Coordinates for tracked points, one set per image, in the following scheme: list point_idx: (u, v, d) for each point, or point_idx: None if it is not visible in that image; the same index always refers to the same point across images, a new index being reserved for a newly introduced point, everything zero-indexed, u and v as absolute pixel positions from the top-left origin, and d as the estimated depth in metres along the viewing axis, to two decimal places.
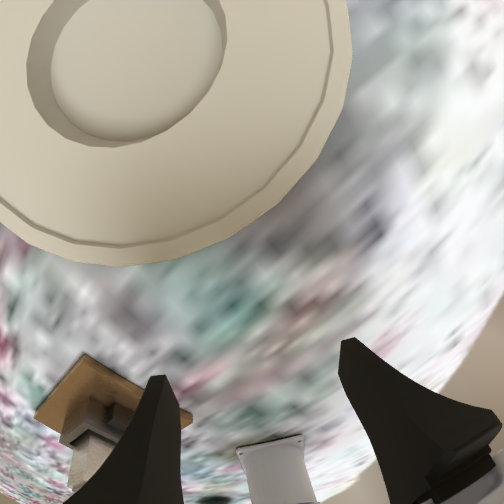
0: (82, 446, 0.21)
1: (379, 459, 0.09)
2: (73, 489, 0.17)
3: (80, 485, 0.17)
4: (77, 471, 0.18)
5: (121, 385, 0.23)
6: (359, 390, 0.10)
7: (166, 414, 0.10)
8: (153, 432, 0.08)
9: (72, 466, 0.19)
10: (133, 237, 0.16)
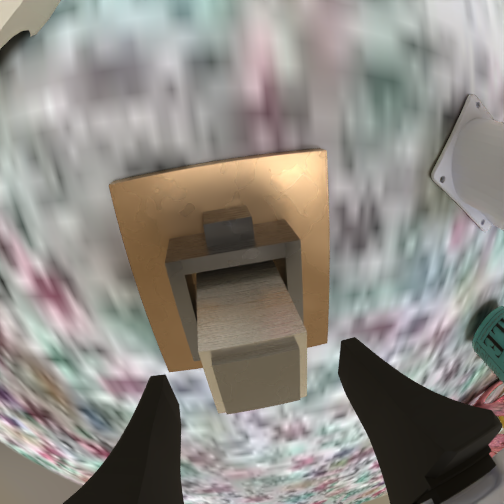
0: None
1: (379, 459, 0.09)
2: None
3: (217, 380, 0.11)
4: None
5: (179, 170, 0.16)
6: (359, 390, 0.10)
7: (166, 414, 0.10)
8: (153, 432, 0.08)
9: None
10: None
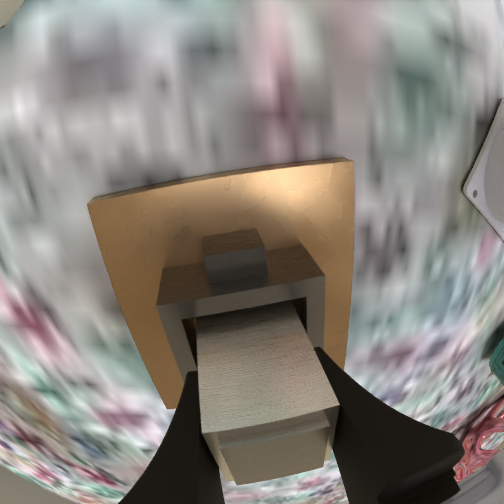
0: None
1: (341, 472, 0.09)
2: None
3: None
4: None
5: (173, 185, 0.13)
6: None
7: None
8: (200, 428, 0.08)
9: None
10: None
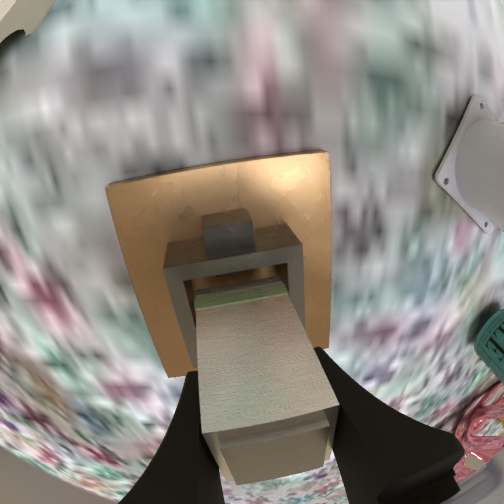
0: None
1: (341, 472, 0.09)
2: None
3: None
4: None
5: (178, 172, 0.15)
6: None
7: None
8: (200, 428, 0.08)
9: None
10: None
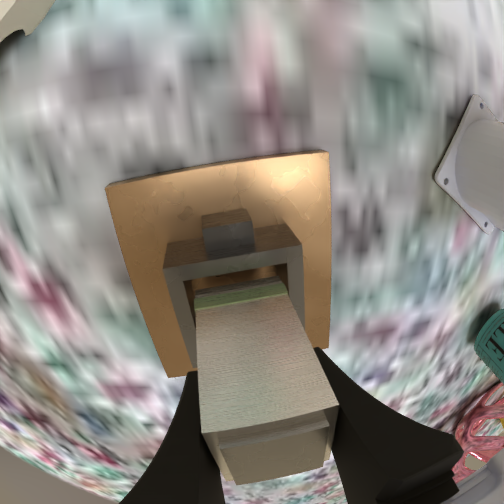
0: None
1: (340, 472, 0.09)
2: None
3: None
4: None
5: (177, 172, 0.15)
6: None
7: None
8: (200, 428, 0.08)
9: None
10: None
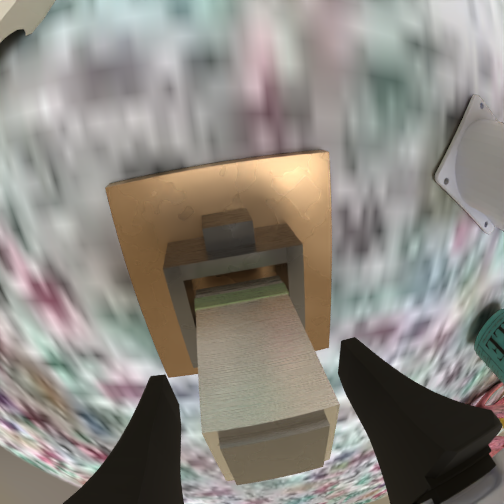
0: None
1: (379, 459, 0.09)
2: None
3: None
4: None
5: (178, 172, 0.15)
6: (359, 390, 0.10)
7: (166, 414, 0.10)
8: (153, 432, 0.08)
9: None
10: None
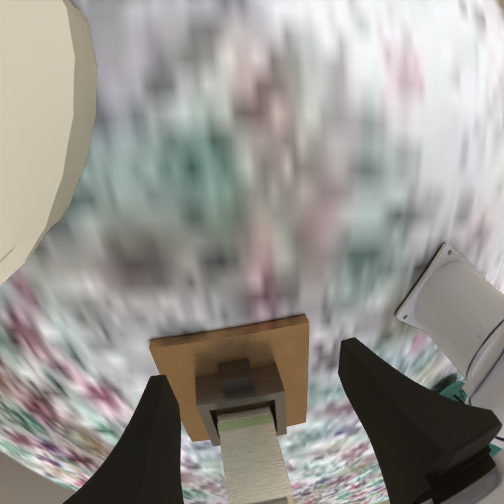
0: None
1: (379, 459, 0.09)
2: None
3: None
4: None
5: (201, 341, 0.22)
6: (359, 390, 0.10)
7: (166, 414, 0.10)
8: (153, 432, 0.08)
9: None
10: (34, 198, 0.14)
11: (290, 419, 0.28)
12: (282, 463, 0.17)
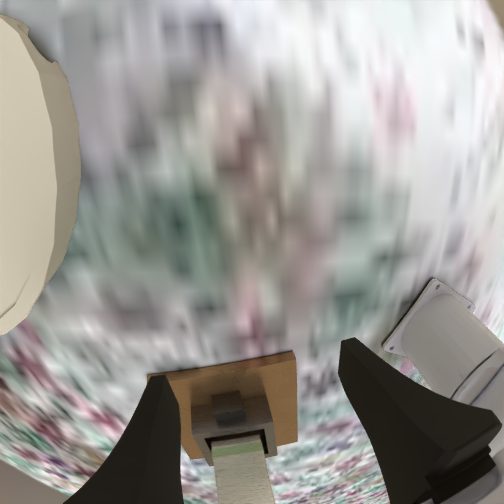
0: None
1: (379, 459, 0.09)
2: None
3: None
4: None
5: (195, 377, 0.23)
6: (359, 391, 0.10)
7: (166, 414, 0.10)
8: (153, 432, 0.08)
9: None
10: (29, 260, 0.14)
11: (282, 439, 0.29)
12: (269, 487, 0.18)
